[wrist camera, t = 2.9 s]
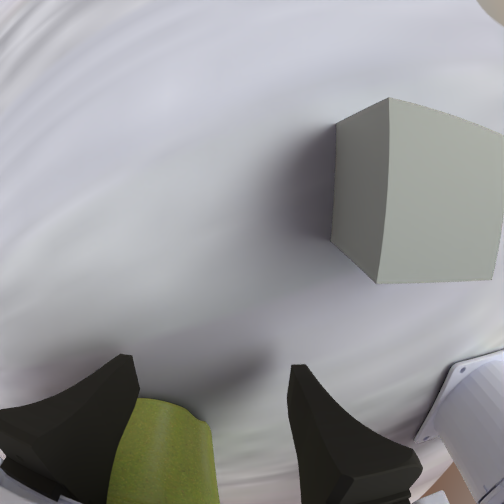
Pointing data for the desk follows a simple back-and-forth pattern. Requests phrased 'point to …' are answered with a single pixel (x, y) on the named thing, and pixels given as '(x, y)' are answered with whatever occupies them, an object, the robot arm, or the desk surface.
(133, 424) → the plant pot
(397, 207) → the slate block
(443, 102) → the desk surface
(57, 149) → the desk surface
